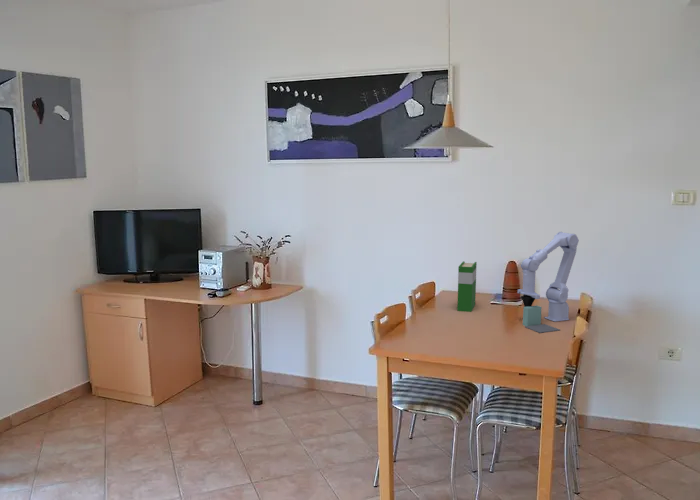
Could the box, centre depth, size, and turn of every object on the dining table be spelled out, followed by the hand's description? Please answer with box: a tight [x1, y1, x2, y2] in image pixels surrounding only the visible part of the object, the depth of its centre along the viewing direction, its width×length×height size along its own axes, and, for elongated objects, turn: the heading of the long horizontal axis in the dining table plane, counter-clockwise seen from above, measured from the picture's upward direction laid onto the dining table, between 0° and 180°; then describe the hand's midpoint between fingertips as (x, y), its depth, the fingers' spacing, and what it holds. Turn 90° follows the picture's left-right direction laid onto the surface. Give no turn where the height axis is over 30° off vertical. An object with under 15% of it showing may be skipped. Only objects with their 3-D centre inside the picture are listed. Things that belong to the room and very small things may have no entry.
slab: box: [522, 305, 543, 327], centre depth 296 cm, size 8×4×9 cm, turn 112°
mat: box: [524, 323, 561, 334], centre depth 290 cm, size 12×11×1 cm
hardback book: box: [456, 261, 477, 313], centre depth 330 cm, size 18×7×24 cm, turn 162°
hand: (527, 310), depth 299 cm, fingers closed
